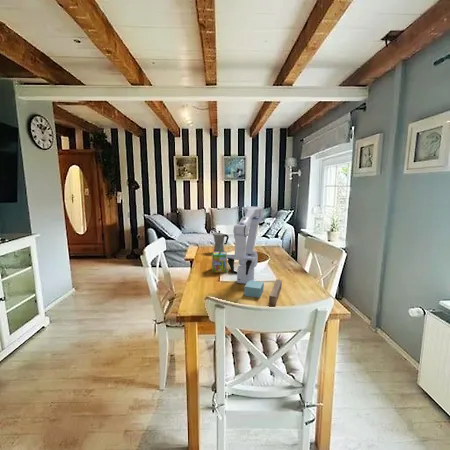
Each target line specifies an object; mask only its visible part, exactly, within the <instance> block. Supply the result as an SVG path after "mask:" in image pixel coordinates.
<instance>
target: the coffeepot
mask: <svg viewBox="0 0 450 450" xmlns="http://www.w3.org/2000/svg"><path fill="white" fill-rule="evenodd" d="M212 236H213V240H214V247H213V252H220V251H221V252H226V251H225V247H224V245H227V244H228V241H229V235H228V234H226V233H221V230H218V232H216V233H215V232H214V233H212ZM225 237H226V239H225ZM220 249H222V250H220Z"/></svg>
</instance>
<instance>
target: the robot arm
mask: <svg viewBox="0 0 450 450" xmlns="http://www.w3.org/2000/svg"><path fill="white" fill-rule="evenodd" d="M263 217H264V208H263V206H251V205H250V206H248V205H247V206H245V207H244V216H243V217H241V219H240V221H239V222H238V223H237V224H235V225H234V227H233V236H234V237H233V238H234V239H233V240H234V254H227V255H226V259H227V263H228V265H229V268H230V272H231V274H233V273H234V272H235V260H236V261H238V267H237V270H236V272H237V273H236V283H238V284H245V285H246V284H247V282H248V281H249V280H252V281H257V280H256V279H255V268H256V267H257V265H258V260H259V259H258V258H259V257H258V256H259V255H258V252H257V251H255V246H256V241H257V234H258V228H259V224H261V223H262V222H263Z"/></svg>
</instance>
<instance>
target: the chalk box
mask: <svg viewBox="0 0 450 450" xmlns="http://www.w3.org/2000/svg"><path fill="white" fill-rule="evenodd" d="M220 250H222V249H220ZM211 255H212V256H211V271H212V273H214V274H215V273H221V274H223V273H225V274H226V273H227V272H228V271H227V270H228V269H227V268H228V267H227V263H228V259H226V255H228V253H227V251H225V252H221V251H220V252H214V251H212V254H211Z"/></svg>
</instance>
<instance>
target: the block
mask: <svg viewBox="0 0 450 450" xmlns="http://www.w3.org/2000/svg"><path fill="white" fill-rule="evenodd" d="M264 285H265V282H264V281H259V280H256V281H252V280H249V281H248V282H247V284H245V285H244V289H243V290H244V293H243V294H244V295H243V296H245V297H252V298H259V299H260V298H261V296H262V295H263V293H264V287H265V286H264Z"/></svg>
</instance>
